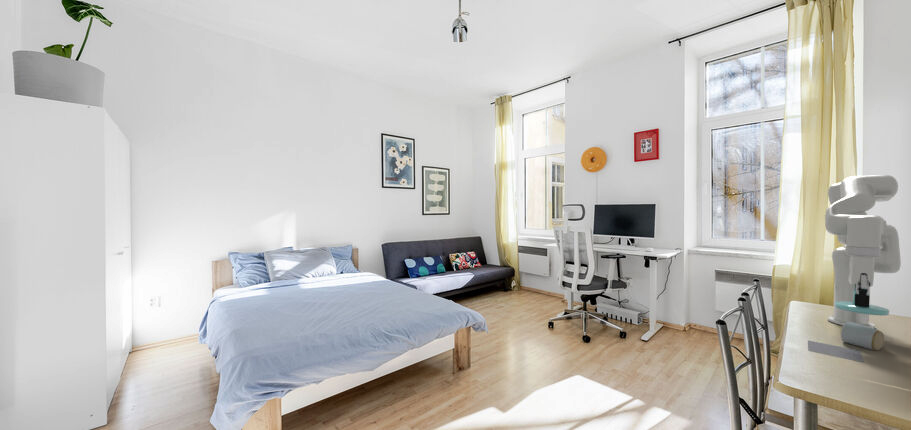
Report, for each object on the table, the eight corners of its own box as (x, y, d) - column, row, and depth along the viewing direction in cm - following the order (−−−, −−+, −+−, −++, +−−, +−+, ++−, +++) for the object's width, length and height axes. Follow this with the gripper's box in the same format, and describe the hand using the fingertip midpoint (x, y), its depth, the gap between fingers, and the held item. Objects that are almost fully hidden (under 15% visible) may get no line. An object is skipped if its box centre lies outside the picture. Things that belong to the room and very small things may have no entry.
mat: (807, 341, 122) (807, 340, 122) (859, 351, 114) (859, 350, 114) (808, 351, 114) (808, 350, 114) (863, 363, 105) (863, 362, 105)
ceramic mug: (874, 353, 113) (875, 330, 112) (839, 343, 120) (840, 322, 120) (890, 348, 116) (891, 326, 116) (855, 339, 124) (856, 319, 124)
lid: (833, 302, 126) (834, 286, 125) (885, 309, 117) (886, 292, 117) (835, 309, 117) (836, 291, 117) (892, 317, 109) (892, 298, 108)
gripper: (844, 248, 125) (842, 298, 126) (848, 253, 113) (846, 307, 114) (876, 250, 120) (874, 302, 120) (884, 255, 108) (882, 312, 109)
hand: (861, 304), depth 117 cm, fingers closed on lid, 3 cm apart
